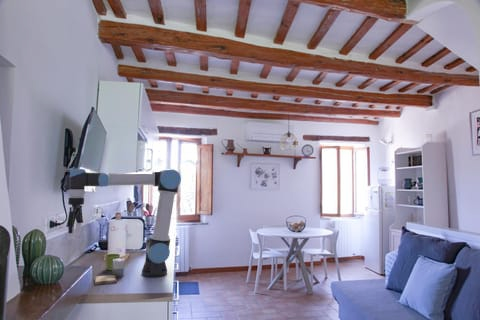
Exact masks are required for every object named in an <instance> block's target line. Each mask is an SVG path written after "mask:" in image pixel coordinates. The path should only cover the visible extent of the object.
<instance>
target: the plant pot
mask: <svg viewBox="0 0 480 320" xmlns="http://www.w3.org/2000/svg"><path fill="white" fill-rule="evenodd" d="M120 256H121V254H120V253H109V254H108V253H107V254H104V258H105V264H106V270H107V271H112V269H113V259H117V258H120Z"/></svg>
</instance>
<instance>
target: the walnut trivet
mask: <svg viewBox="0 0 480 320" xmlns="http://www.w3.org/2000/svg"><path fill="white" fill-rule="evenodd" d="M116 283H117V277H116V275H112V274H109V275H99V276H97V275H96V276H94V286H97V285H98V286H99V285H106V284H107V285H108V284H116Z"/></svg>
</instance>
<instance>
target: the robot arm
mask: <svg viewBox="0 0 480 320" xmlns="http://www.w3.org/2000/svg"><path fill="white" fill-rule="evenodd" d="M181 180H182V178H181V174H180V173H179V172H178V170H176V169H174V168H166V169H163V170H153V171H152V172H86V169H85V168H71V169H70V171H69V180H68V181H69V183H68V184H69V185H68V186H69V187H68V188H69V189H68V191H67V193H68V205H69V206H71V207H69V212H68V218H67V222H66V225H65V226H66V228H67V240H69V241H70V240H71V241H72V240H74V239H75V236H81V235H82V223H84V219H83V206H82V205H84V204H85V192H86V191H85V189H86V187H101V188H102V187H108V186H109V187H111V186H152V187H157V192H158V193H159V196H158V203H157V209H156V216H155V221H154V228H153V234H152V235H148V236H147V237H146V240H145V258H144V259H145V261H144V264H143V267H142V269H141V276H143V277H148V278H160V277H164V276H166V275H167V274H168V268H167V263H166V261H167V260H168V258H169V256H170V252H171V251H170V244H171V243H170V242H171V238H170V237H169V233H170V227H171V220H172V213H173V208H174V202H175V195H177V194H178V191H179V186H180V184H181Z"/></svg>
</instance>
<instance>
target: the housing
mask: <svg viewBox="0 0 480 320" xmlns="http://www.w3.org/2000/svg"><path fill="white" fill-rule="evenodd" d="M124 258H125V257H119V258H117V259H113V269H112V270H111V271H112V272H111V273H112V274H111V275H116V278H117V277H118V278H119V277H124V271H125V259H124Z"/></svg>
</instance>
